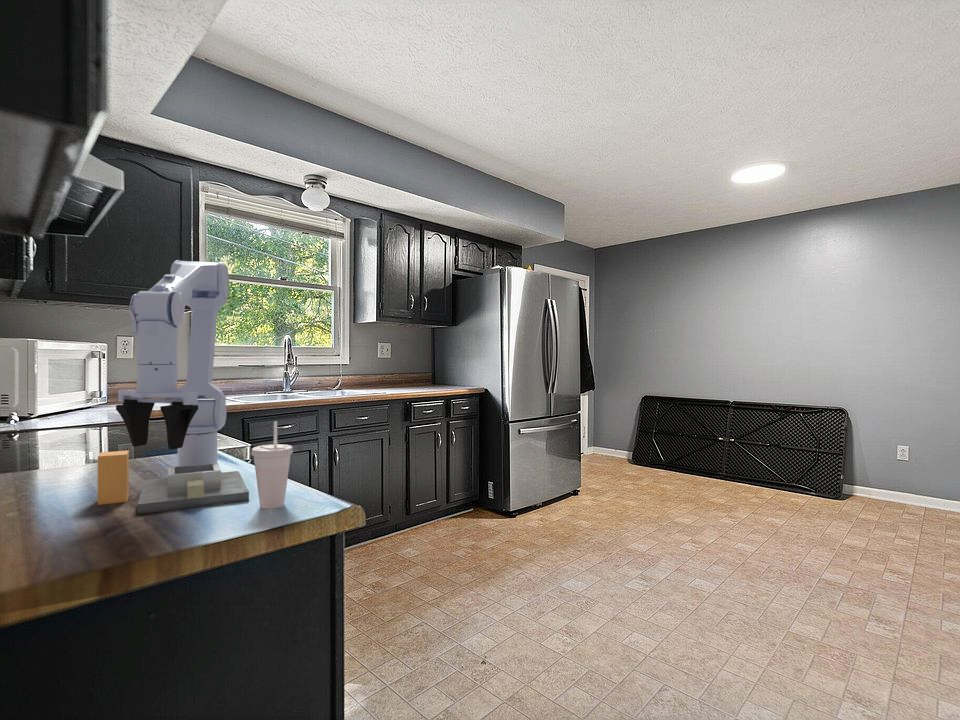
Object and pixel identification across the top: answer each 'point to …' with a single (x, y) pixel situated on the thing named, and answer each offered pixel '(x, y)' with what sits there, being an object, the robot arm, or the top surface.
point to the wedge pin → (113, 477)
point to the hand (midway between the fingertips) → (157, 446)
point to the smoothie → (272, 472)
